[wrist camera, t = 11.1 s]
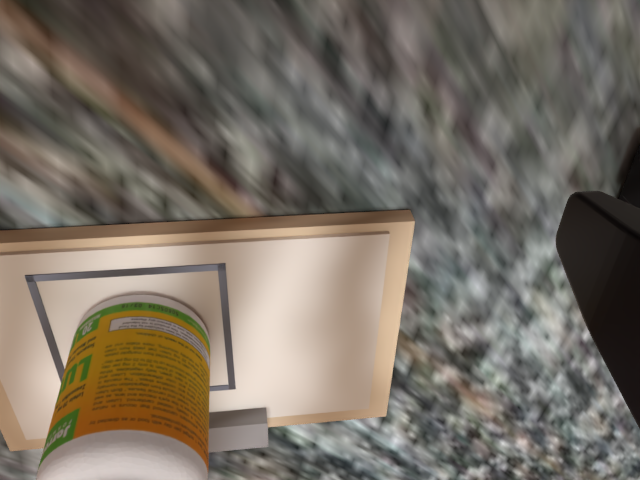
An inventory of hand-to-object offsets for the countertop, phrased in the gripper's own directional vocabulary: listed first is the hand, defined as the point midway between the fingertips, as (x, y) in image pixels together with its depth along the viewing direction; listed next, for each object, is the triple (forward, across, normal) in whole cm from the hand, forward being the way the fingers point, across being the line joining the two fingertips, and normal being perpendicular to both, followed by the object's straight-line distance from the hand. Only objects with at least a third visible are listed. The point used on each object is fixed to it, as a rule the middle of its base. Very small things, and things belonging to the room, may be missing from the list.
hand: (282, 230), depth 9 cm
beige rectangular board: (+12, +3, +14) cm, 19 cm away
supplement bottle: (+11, +5, +13) cm, 18 cm away
